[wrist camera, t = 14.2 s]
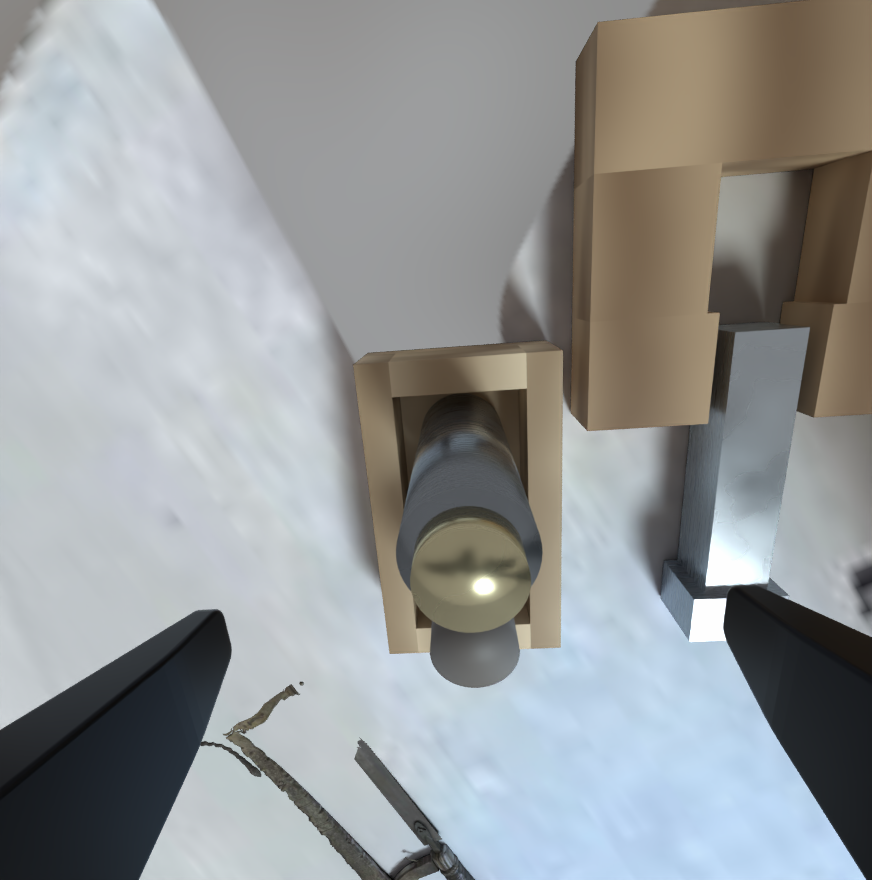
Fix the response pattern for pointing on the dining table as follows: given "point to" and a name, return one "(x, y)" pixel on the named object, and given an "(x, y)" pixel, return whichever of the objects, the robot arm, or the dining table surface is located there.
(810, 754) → the robot arm
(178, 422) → the dining table surface
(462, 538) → the grey metal cylinder
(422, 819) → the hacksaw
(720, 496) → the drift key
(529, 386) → the rack
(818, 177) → the socket block
